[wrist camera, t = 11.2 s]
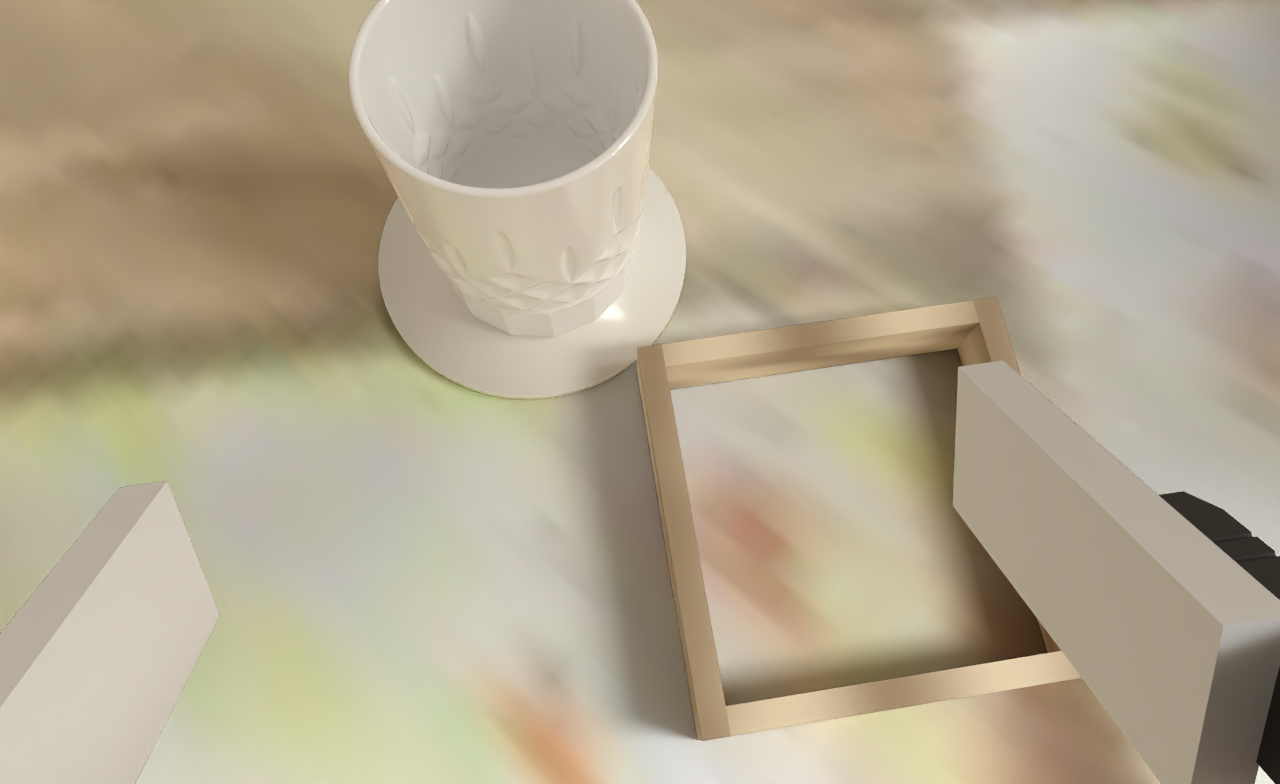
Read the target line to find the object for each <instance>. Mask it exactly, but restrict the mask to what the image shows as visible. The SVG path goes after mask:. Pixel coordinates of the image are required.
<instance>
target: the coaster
mask: <svg viewBox="0 0 1280 784" xmlns="http://www.w3.org/2000/svg"><path fill="white" fill-rule="evenodd" d="M685 269H686V242H685V234H684V229H683V225H682V221H681V218H680V214H679V212H678V209H677V207H676V205H675V203H674V200H673V198H672V196H671V195H670V193H669V192H668V190H667V188H666V187H665V185H664V183H663V182H662V181H661V180H660V179H659V177H658V176H657V175H656V174H655V172H654V171H653V170H652V169H651V168H650V167H649V166H648V174H647V183H646V191H645V197H644V202H643V210H642V218H641V224H640V229H639V233H638V237H637V244H636V254H635V257H634V261H633V264H632V267H631V270H630V274H629V277H628V280H627V283H626V287H625V290H624V292H623V293H622V294H621V295H620V296H619V297H618V298H617V299H616V300H615V301H614V302H613V303H612V304H611V305H610V306H609V307H608V308H607V309H606V310H605V312H604V313H603V314H602V315H601V316H600V317H599V318H598V319H597V320H596V321H594V322H592V323H589V324H587V325H584V326H581V327H579V328H576V329H574V330H571V331H569V332H566V333H563V334H561V335H558V336H556V337H544V336H519V335H510V334H508V333H506V332H504V331H502V330H500V329H498V328H496V327H494V326H492V325H490V324H488V323H486V322H484V321H482V320H480V319H478V318H476V317H474V316H473V315H472V314H471V313H470V311H469V310H468V308H467V307H466V306H465V304H464V303H463V302H462V300H461V299H460V298H459V296H458V295H457V294H456V292H455V291H454V289H453V288H452V287H451V285H450V284H449V282H448V280H447V278H446V276H445V274H444V272H443V271H442V270H441V269H440V268H439V267H438V265H437V264H436V262H435V261H434V259H433V257H432V256H431V254H430V252H429V250H428V248H427V247H426V245H425V244H424V242H423V240H422V238H421V236H420V235H419V233H418V231H417V229H416V228H415V226H414V224H413V223H412V221H411V220H410V218H409V216H408V214H407V212H406V211H405V209H404V207H403V205H402V203H401V201H400V199H399V197H398V198H397V199H396V201H395V202H394V204H393V207H392V209H391V211H390V213H389V215H388V217H387V219H386V223H385V226H384V229H383V232H382V236H381V241H380V247H379V254H378V274H379V281H380V288H381V293H382V296H383V299H384V303H385V306H386V309H387V311H388V313H389V315H390V317H391V319H392V321H393V323H394V325H395V327H396V329H397V330H398V332H399V333H400V335H401V336H402V338H403V339H404V341H405V342H406V344H407V345H408V346H409V347H410V348H411V349H412V350H413V352H414V353H415V354H416V355H417V356H418V357H419V358H420V359H421V360H422V361H423V362H425V363H426V364H427V365H428V366H429V367H431V368H432V369H433V370H434V371H436V372H437V373H439V374H441V375H442V376H444V377H445V378H447V379H449V380H450V381H452V382H454V383H456V384H459V385H461V386H463V387H465V388H467V389H470V390H473V391H476V392H479V393H483V394H486V395H489V396H495V397H501V398H507V399H522V400H536V399H548V398H556V397H560V396H565V395H570V394H574V393H577V392H580V391H583V390H586V389H589V388H592V387H594V386H596V385H598V384H600V383H603V382H605V381H607V380H609V379H611V378H613V377H614V376H616V375H617V374H619V373H620V372H622V371H623V370H625V369H626V368H628V367H629V366H631V365H632V364H633V363H634V362H635V361H636V360H637V347H644V346H651V345H653V344H654V342H655V341H656V340H657V339H658V338H659V336H660V335H661V333H662V332H663V330H664V329H665V327H666V326H667V324H668V323H669V321H670V319H671V317H672V315H673V313H674V311H675V309H676V306H677V303H678V300H679V297H680V294H681V291H682V287H683V282H684V276H685Z"/></svg>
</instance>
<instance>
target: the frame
mask: <svg viewBox="0 0 1280 784" xmlns="http://www.w3.org/2000/svg"><path fill="white" fill-rule="evenodd" d="M950 349H957V350H958V353H959V357H960V360H961V363H962V366H967V365H974V364H981V363H988V362H995V361H1002V360H1003V361H1004V362H1005V363H1007V364H1008V365H1009V366H1010V367H1011V368H1012V369H1014V370H1015V371H1016V372H1017V373H1018V374H1019V375H1020V376H1021V373H1020V370H1019V367H1018V364H1017V361H1016V358H1015V355H1014V351H1013V348H1012V345H1011V342H1010V339H1009V336H1008V333H1007V330H1006V326H1005V323H1004V320H1003V317H1002V314H1001V311H1000V308H999V305H998V302H997V298H996V297H993V298H986V299H979V300H972V301H965V302H958V303H950V304H943V305H936V306H929V307H922V308H915V309H908V310H900V311H893V312H886V313H879V314H872V315H865V316H858V317H851V318H843V319H836V320H829V321H822V322H815V323H808V324H801V325H794V326H786V327H779V328H772V329H765V330H758V331H751V332H744V333H736V334H729V335H722V336H715V337H708V338H701V339H694V340H687V341H679V342H672V343H665V344H658V345H651V346H644V347H637V376H638V382H639V389H640V395H641V401H642V407H643V413H644V419H645V425H646V431H647V437H648V443H649V449H650V455H651V461H652V467H653V473H654V479H655V485H656V491H657V498H658V504H659V510H660V516H661V522H662V528H663V534H664V540H665V546H666V552H667V558H668V564H669V570H670V576H671V582H672V588H673V594H674V600H675V606H676V613H677V619H678V625H679V631H680V637H681V643H682V649H683V655H684V661H685V667H686V673H687V679H688V685H689V691H690V697H691V703H692V709H693V715H694V722H695V728H696V734H697V740H701V741H705V740H711V739H717V738H723V737H729V736H735V735H741V734H747V733H753V732H759V731H765V730H771V729H777V728H783V727H789V726H795V725H801V724H807V723H813V722H819V721H825V720H831V719H837V718H843V717H849V716H855V715H861V714H867V713H873V712H879V711H885V710H891V709H897V708H903V707H909V706H915V705H921V704H927V703H933V702H939V701H945V700H951V699H957V698H963V697H969V696H975V695H981V694H987V693H993V692H999V691H1005V690H1011V689H1017V688H1023V687H1029V686H1035V685H1041V684H1047V683H1053V682H1059V681H1065V680H1071V679H1077V678H1082V677H1081V676H1080V675H1079V673H1078V672H1077V671H1076V669H1075V668H1074V667H1073V665H1072V664H1071V663H1070V661H1069V660H1068V659H1067V657H1066V656H1065V655H1064V653H1063V652H1062V651H1061V649H1060V648H1059V647H1058V645H1057V644H1056V643H1055V641H1054V640H1053V639H1052V637H1051V636H1050V635H1049V633H1048V632H1047V631H1046V629H1045V628H1044V627H1043V625H1042V624H1041V623H1040V621H1039V620H1038V622H1039V625H1040V629H1041V632H1042V635H1043V639H1044V642H1045V645H1046V649H1047V652H1048V653H1045V654H1039V655H1033V656H1027V657H1021V658H1015V659H1009V660H1003V661H997V662H991V663H985V664H979V665H972V666H966V667H960V668H954V669H948V670H942V671H936V672H930V673H924V674H918V675H912V676H906V677H900V678H893V679H887V680H881V681H875V682H869V683H863V684H857V685H851V686H845V687H839V688H833V689H827V690H821V691H815V692H808V693H802V694H796V695H790V696H784V697H778V698H772V699H766V700H760V701H754V702H748V703H742V704H736V705H730V706H726V705H725V699H724V694H723V688H722V682H721V677H720V671H719V665H718V660H717V654H716V649H715V643H714V637H713V632H712V626H711V620H710V615H709V609H708V603H707V598H706V592H705V586H704V581H703V575H702V570H701V564H700V558H699V553H698V547H697V541H696V536H695V530H694V524H693V519H692V513H691V507H690V502H689V496H688V491H687V485H686V479H685V474H684V468H683V462H682V457H681V451H680V445H679V440H678V434H677V428H676V423H675V417H674V412H673V406H672V400H671V395H670V390H671V389H678V388H685V387H692V386H699V385H706V384H713V383H720V382H727V381H734V380H741V379H748V378H755V377H762V376H769V375H776V374H783V373H790V372H797V371H804V370H811V369H818V368H825V367H832V366H839V365H846V364H853V363H859V362H866V361H873V360H880V359H887V358H894V357H901V356H908V355H915V354H922V353H929V352H936V351H943V350H950Z"/></svg>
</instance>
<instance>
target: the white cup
mask: <svg viewBox="0 0 1280 784" xmlns="http://www.w3.org/2000/svg"><path fill="white" fill-rule="evenodd" d="M657 77H658V55H657V48H656V43H655V39H654V36H653V32H652V30H651V27H650V25H649V22H648V20H647V18H646V16H645V14H644V13H643V11H642V9H641V8H640V6H639V5H638V3H637V2H636V1H635V0H379V1H378V2H377V3H376V5H375V6H374V7H373V8H372V10H371V11H370V13H369V14H368V16H367V17H366V19H365V20H364V22H363V24H362V26H361V28H360V30H359V32H358V34H357V37H356V39H355V42H354V45H353V48H352V52H351V56H350V62H349V91H350V97H351V102H352V105H353V109H354V112H355V114H356V117H357V119H358V121H359V123H360V125H361V127H362V129H363V131H364V133H365V135H366V137H367V138H368V140H369V142H370V144H371V146H372V148H373V150H374V151H375V153H376V155H377V157H378V159H379V161H380V163H381V165H382V167H383V168H384V170H385V172H386V174H387V176H388V178H389V180H390V182H391V184H392V186H393V188H394V189H395V191H396V193H397V195H398V197H399V199H400V201H401V203H402V205H403V207H404V209H405V211H406V212H407V214H408V216H409V218H410V220H411V221H412V223H413V224H414V226H415V228H416V229H417V231H418V233H419V235H420V236H421V238H422V240H423V242H424V244H425V245H426V247H427V248H428V250H429V252H430V254H431V256H432V257H433V259H434V261H435V262H436V264H437V265H438V267H439V268H440V269H441V270H442V271H443V272H444V274H445V276H446V278H447V280H448V282H449V284H450V285H451V287H452V288H453V289H454V291H455V292H456V294H457V295H458V296H459V298H460V299H461V300H462V302H463V303H464V304H465V306H466V307H467V308H468V310H469V311H470V313H471V314H472V315H473V316H474V317H476V318H478V319H480V320H482V321H484V322H486V323H488V324H490V325H492V326H494V327H496V328H498V329H500V330H502V331H504V332H506V333H508V334H510V335H519V336H544V337H556V336H558V335H561V334H563V333H566V332H569V331H571V330H574V329H576V328H579V327H581V326H584V325H587V324H589V323H592V322H594V321H596V320H597V319H598V318H599V317H600V316H601V315H602V314H603V313H604V312H605V310H606V309H607V308H608V307H609V306H610V305H611V304H612V303H613V302H614V301H615V300H616V299H617V298H618V297H619V296H620V295H621V294H622V293H623V292H624V290H625V287H626V283H627V280H628V277H629V274H630V270H631V267H632V264H633V261H634V257H635V254H636V244H637V237H638V233H639V229H640V224H641V218H642V210H643V202H644V197H645V191H646V183H647V174H648V164H649V153H650V143H651V133H652V123H653V113H654V104H655V95H656V86H657Z"/></svg>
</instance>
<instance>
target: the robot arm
mask: <svg viewBox="0 0 1280 784" xmlns="http://www.w3.org/2000/svg"><path fill="white" fill-rule="evenodd" d="M953 507H954V508H955V509H956V511H957V512H958V513H959V515H960V516H961V517H962V519H963V520H964V521H965V523H966V524H967V525H968V527H969V528H970V529H971V531H972V532H973V533H974V535H975V536H976V537H977V539H978V540H979V541H980V543H981V544H982V545H983V547H984V548H985V549H986V551H987V552H988V553H989V555H990V556H991V557H992V559H993V560H994V561H995V563H996V564H997V565H998V567H999V568H1000V569H1001V571H1002V572H1003V573H1004V575H1005V576H1006V577H1007V579H1008V580H1009V581H1010V583H1011V584H1012V585H1013V587H1014V588H1015V589H1016V591H1017V592H1018V593H1019V595H1020V596H1021V597H1022V599H1023V600H1024V601H1025V603H1026V604H1027V605H1028V607H1029V608H1030V609H1031V611H1032V612H1033V613H1034V615H1035V616H1036V617H1037V619H1038V620H1039V621H1040V623H1041V624H1042V625H1043V627H1044V628H1045V629H1046V631H1047V632H1048V633H1049V635H1050V636H1051V637H1052V639H1053V640H1054V641H1055V643H1056V644H1057V645H1058V647H1059V648H1060V649H1061V651H1062V652H1063V653H1064V655H1065V656H1066V657H1067V659H1068V660H1069V661H1070V663H1071V664H1072V665H1073V667H1074V668H1075V669H1076V671H1077V672H1078V673H1079V675H1080V676H1081V677H1082V679H1083V680H1084V681H1085V683H1086V684H1087V685H1088V687H1089V688H1090V689H1091V691H1092V692H1093V693H1094V695H1095V696H1096V697H1097V699H1098V700H1099V701H1100V703H1101V704H1102V705H1103V707H1104V708H1105V709H1106V711H1107V712H1108V713H1109V715H1110V716H1111V717H1112V719H1113V720H1114V721H1115V723H1116V724H1117V725H1118V727H1119V728H1120V729H1121V731H1122V732H1123V733H1124V735H1125V736H1126V737H1127V739H1128V740H1129V741H1130V743H1131V744H1132V745H1133V747H1134V748H1135V749H1136V751H1137V752H1138V753H1139V755H1140V756H1141V757H1142V759H1143V760H1144V761H1145V763H1146V764H1147V765H1148V767H1149V768H1150V769H1151V771H1152V772H1153V773H1154V775H1155V776H1156V777H1157V779H1158V780H1159V781H1160V783H1161V784H1254V783H1255V779H1256V775H1257V771H1258V767H1259V766H1260V767H1261V768H1262V769H1263V770H1264V771H1265V773H1266V774H1267V775H1268V776H1269V777H1270V778H1271V779H1272V780H1273V782H1274V783H1275V784H1280V556H1279V557H1277V556H1276V555H1275V551H1274V550H1273V549H1271V548H1270V547H1269V546H1268V545H1266V544H1265V543H1264V542H1263V541H1261V540H1260V539H1259V538H1258V537H1252V535H1251V532H1250V531H1249V530H1248V529H1247V528H1245V527H1244V526H1243V525H1242V524H1240V523H1239V522H1238V521H1237V520H1235V519H1234V518H1233V517H1232V516H1230V515H1229V514H1228V513H1227V512H1225V511H1224V510H1223V509H1221V508H1219V507H1217V506H1214V505H1212V504H1210V503H1208V502H1206V501H1203V500H1201V499H1199V498H1197V497H1195V496H1192V495H1190V494H1188V493H1186V492H1184V491H1183V492H1176V493H1169V494H1163V495H1158V494H1157V493H1155V492H1154V491H1153V490H1152V489H1151V488H1150V487H1149V486H1147V485H1146V484H1145V483H1144V482H1143V481H1142V480H1140V479H1139V478H1138V477H1137V476H1136V475H1135V474H1134V473H1132V472H1131V471H1130V470H1129V469H1128V468H1127V467H1125V466H1124V465H1123V464H1122V463H1121V462H1120V461H1119V460H1117V459H1116V458H1115V457H1114V456H1113V455H1112V454H1110V453H1109V452H1108V451H1107V450H1106V449H1105V448H1104V447H1102V446H1101V445H1100V444H1099V443H1098V442H1097V441H1095V440H1094V439H1093V438H1092V437H1091V436H1090V435H1089V434H1087V433H1086V432H1085V431H1084V430H1083V429H1082V428H1080V427H1079V426H1078V425H1077V424H1076V423H1075V422H1074V421H1072V420H1071V419H1070V418H1069V417H1068V416H1067V415H1065V414H1064V413H1063V412H1062V411H1061V410H1060V409H1059V408H1057V407H1056V406H1055V405H1054V404H1053V403H1052V402H1050V401H1049V400H1048V399H1047V398H1046V397H1045V396H1044V395H1042V394H1041V393H1040V392H1039V391H1038V390H1037V389H1035V388H1034V387H1033V386H1032V385H1031V384H1030V383H1029V382H1027V381H1026V380H1025V379H1024V378H1023V377H1022V376H1020V375H1019V374H1018V373H1017V372H1016V371H1015V370H1014V369H1012V368H1011V367H1010V366H1009V365H1008V364H1007V363H1005V362H1004V361H1003V360H1002V361H995V362H988V363H981V364H974V365H967V366H961V367H958V387H957V412H956V437H955V462H954V487H953ZM219 617H220V613H219V611H218V608H217V606H216V603H215V601H214V598H213V595H212V593H211V590H210V588H209V585H208V583H207V580H206V578H205V575H204V573H203V570H202V567H201V565H200V562H199V560H198V557H197V555H196V552H195V550H194V547H193V545H192V542H191V539H190V537H189V534H188V532H187V529H186V527H185V524H184V522H183V519H182V517H181V514H180V511H179V509H178V506H177V504H176V501H175V499H174V496H173V494H172V491H171V489H170V486H169V483H168V481H162V482H155V483H148V484H141V485H134V486H127V487H120V488H119V489H118V490H117V492H116V493H115V494H114V495H113V496H112V498H111V499H110V500H109V501H108V503H107V504H106V505H105V506H104V507H103V509H102V510H101V511H100V512H99V514H98V515H97V516H96V517H95V518H94V520H93V521H92V522H91V523H90V525H89V526H88V527H87V528H86V529H85V531H84V532H83V533H82V534H81V536H80V537H79V538H78V539H77V540H76V542H75V543H74V544H73V545H72V547H71V548H70V549H69V550H68V551H67V553H66V554H65V555H64V556H63V558H62V559H61V560H60V561H59V562H58V564H57V565H56V566H55V567H54V569H53V570H52V571H51V572H50V573H49V575H48V576H47V577H46V578H45V580H44V581H43V582H42V583H41V584H40V586H39V587H38V588H37V589H36V591H35V592H34V593H33V594H32V595H31V597H30V598H29V599H28V600H27V602H26V603H25V604H24V605H23V606H22V608H21V609H20V610H19V611H18V613H17V614H16V615H15V616H14V617H13V619H12V620H11V621H10V622H9V624H8V625H7V626H6V627H5V628H4V630H3V631H2V632H1V633H0V784H136V782H137V780H138V778H139V776H140V774H141V772H142V770H143V768H144V766H145V764H146V762H147V760H148V758H149V756H150V754H151V752H152V750H153V748H154V746H155V744H156V742H157V740H158V738H159V736H160V734H161V732H162V730H163V728H164V726H165V724H166V722H167V720H168V718H169V716H170V714H171V712H172V710H173V708H174V706H175V704H176V702H177V700H178V698H179V696H180V694H181V692H182V690H183V688H184V686H185V684H186V682H187V680H188V678H189V676H190V674H191V672H192V670H193V668H194V666H195V664H196V662H197V660H198V658H199V656H200V654H201V652H202V650H203V648H204V646H205V644H206V642H207V640H208V638H209V636H210V634H211V632H212V630H213V628H214V627H215V625H216V623H217V621H218V619H219Z"/></svg>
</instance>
